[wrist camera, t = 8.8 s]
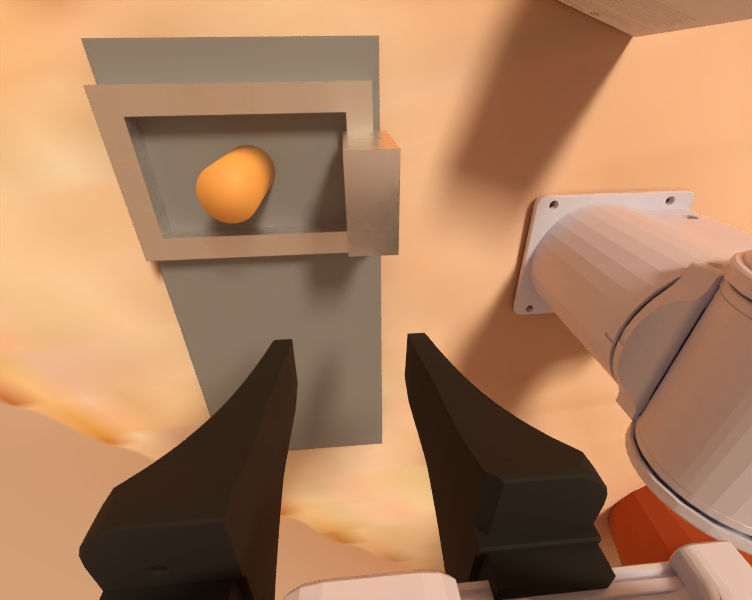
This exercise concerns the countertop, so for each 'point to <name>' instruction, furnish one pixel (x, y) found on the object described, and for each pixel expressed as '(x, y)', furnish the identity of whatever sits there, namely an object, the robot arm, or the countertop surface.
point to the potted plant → (651, 530)
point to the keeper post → (236, 184)
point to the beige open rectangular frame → (360, 143)
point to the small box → (663, 13)
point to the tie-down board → (278, 208)
